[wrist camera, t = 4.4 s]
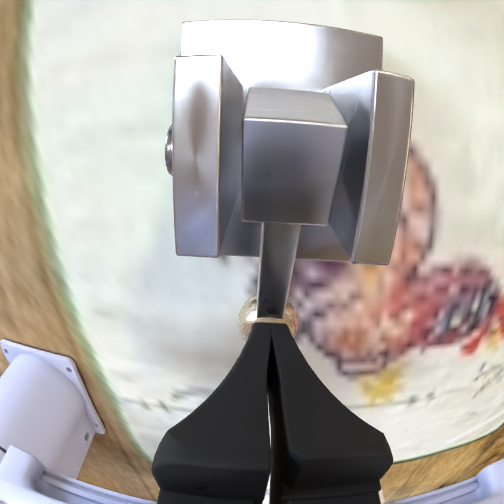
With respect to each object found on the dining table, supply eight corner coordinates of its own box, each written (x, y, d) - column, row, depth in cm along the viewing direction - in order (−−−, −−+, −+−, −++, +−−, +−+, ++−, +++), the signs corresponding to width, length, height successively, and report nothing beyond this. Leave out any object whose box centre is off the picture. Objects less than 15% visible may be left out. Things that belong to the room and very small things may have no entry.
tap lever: (293, 314, 15) (294, 362, 14) (240, 312, 15) (236, 360, 14) (336, 92, 8) (359, 129, 6) (241, 85, 8) (231, 119, 6)
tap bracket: (353, 251, 15) (409, 353, 8) (186, 242, 15) (133, 343, 8) (373, 42, 11) (464, -6, 4) (189, 28, 11) (120, -40, 4)
